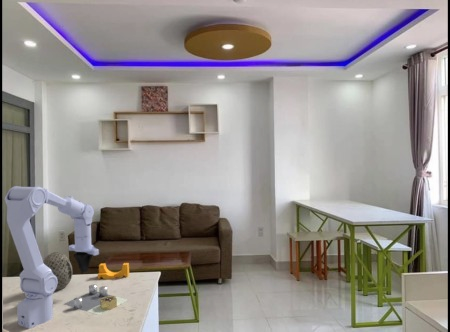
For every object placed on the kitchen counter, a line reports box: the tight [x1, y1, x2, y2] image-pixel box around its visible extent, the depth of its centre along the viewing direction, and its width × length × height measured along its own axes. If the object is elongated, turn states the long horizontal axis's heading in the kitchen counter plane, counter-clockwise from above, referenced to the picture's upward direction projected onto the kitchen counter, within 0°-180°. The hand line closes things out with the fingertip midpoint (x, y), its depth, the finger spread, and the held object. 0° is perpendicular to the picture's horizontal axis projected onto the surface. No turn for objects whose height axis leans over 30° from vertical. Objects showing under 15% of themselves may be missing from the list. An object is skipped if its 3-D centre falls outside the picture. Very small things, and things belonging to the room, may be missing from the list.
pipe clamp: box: [97, 262, 130, 280], centre depth 146 cm, size 12×4×6 cm, turn 91°
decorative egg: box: [42, 251, 73, 291], centre depth 135 cm, size 12×12×15 cm
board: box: [64, 291, 128, 316], centre depth 122 cm, size 13×18×1 cm
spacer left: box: [72, 296, 83, 310], centre depth 117 cm, size 3×3×3 cm
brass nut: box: [100, 295, 118, 311], centre depth 118 cm, size 6×5×3 cm
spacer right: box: [98, 285, 108, 297], centre depth 127 cm, size 3×3×3 cm
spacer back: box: [88, 283, 98, 295], centre depth 129 cm, size 3×3×3 cm
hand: (84, 271), depth 129 cm, fingers closed
